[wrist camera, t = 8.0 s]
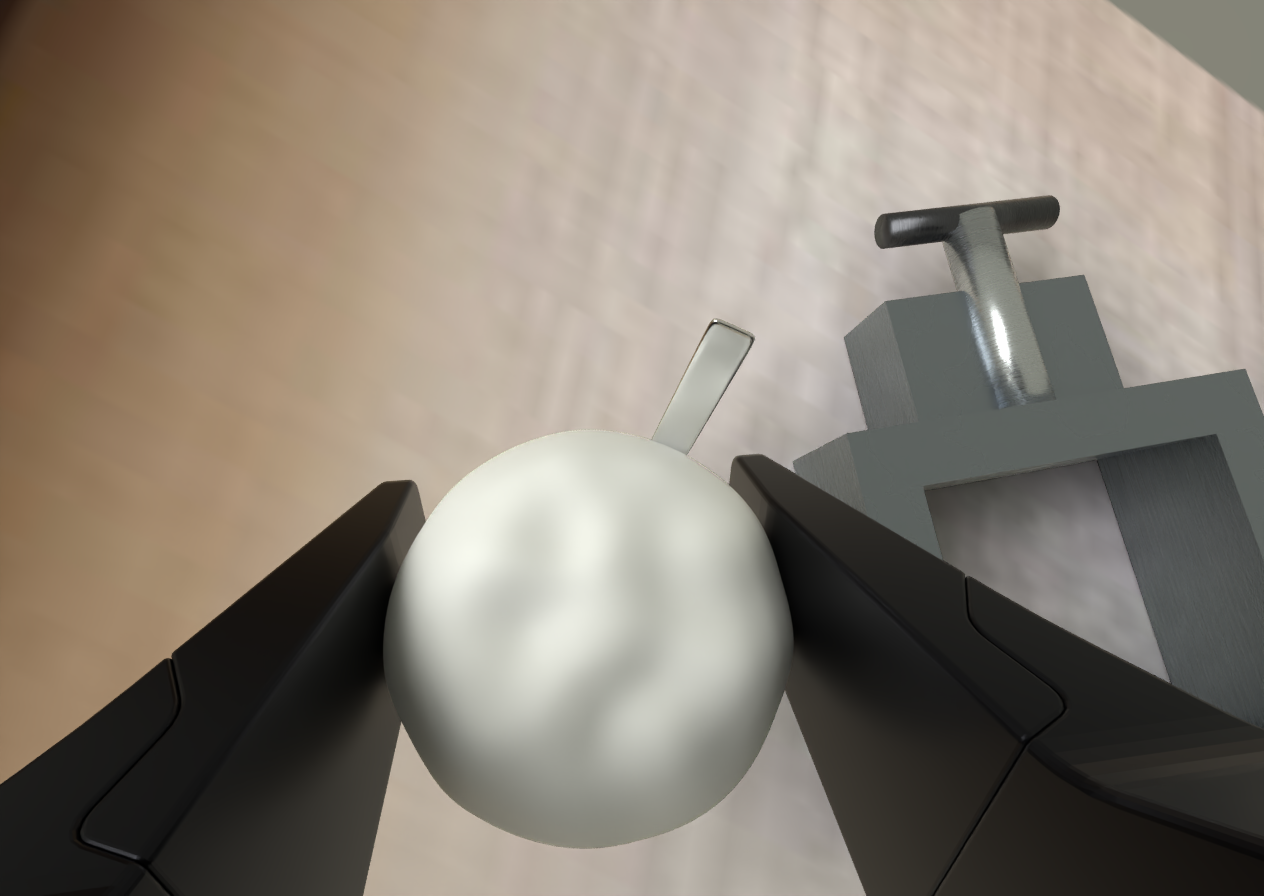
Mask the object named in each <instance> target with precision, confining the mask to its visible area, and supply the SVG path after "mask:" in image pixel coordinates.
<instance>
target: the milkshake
mask: <svg viewBox="0 0 1264 896" xmlns="http://www.w3.org/2000/svg"><path fill="white" fill-rule="evenodd" d="M754 340H755V337H754V335H753V334H752V333H750V332H748V331H746V330H744V329H741V328H739V327H737V326H735V325H732V324H730V323H728V322H725V321H723V320H721V319H717V318H716V319H713V320H712V321H711V322H710V324H709V325H708V327H707V329H706V331H705V333H704V335H703V337H702V339H701V341H700V343H699V345H698V347H697V349H696V351H695V353H694V355H693V357H692V359H691V361H690V363H689V365H688V367H687V369H686V371H685V373H684V375H683V377H682V379H681V381H680V383H679V385H678V387H677V389H676V391H675V393H674V395H673V397H672V399H671V401H670V403H669V405H668V407H667V409H666V411H665V413H664V415H663V417H662V419H661V421H660V423H659V425H658V427H657V429H656V431H655V433H654V435H653V437H652V439H651V440H650V439H646V438H643V437H639V436H635V435H631V434H626V433H621V432H615V431H606V430H573V431H566V432H560V433H555V434H551V435H547V436H543V437H540V438H537V439H534V440H531V441H528V442H525V443H523V444H520V445H518V446H516V447H513V448H511V449H509V450H507V451H505V452H503V453H501V454H499V455H497V456H495V457H494V458H492V459H490V460H489V461H487V462H485V463H484V464H482V465H481V466H479V467H478V468H476V469H475V470H473V471H472V472H471V473H469V474H468V475H467V476H465V477H464V478H463V479H462V480H461V481H459V482H458V483H457V484H456V485H455V486H454V487H453V488H452V489H451V490H450V491H449V492H448V493H447V494H446V495H445V497H444V498H443V499H442V500H441V501H440V503H439V504H438V505H437V507H436V508H435V509H434V511H433V512H432V514H431V515H430V516H429V518H428V519H427V521H426V522H425V524H424V525H423V527H422V529H421V530H420V532H419V533H418V535H417V537H416V538H415V540H414V542H413V544H412V545H411V547H410V549H409V551H408V553H407V555H406V557H405V558H404V561H403V563H402V565H401V567H400V569H399V572H398V574H397V577H396V580H395V582H394V585H393V588H392V592H391V595H390V599H389V603H388V608H387V613H386V619H385V627H384V638H383V663H384V672H385V678H386V683H387V687H388V690H389V693H390V696H391V699H392V702H393V704H394V707H395V709H396V711H397V713H398V716H399V718H400V720H401V721H402V723H403V725H404V727H405V729H406V731H407V733H408V735H409V737H410V739H411V741H412V743H413V745H414V747H415V748H416V750H417V752H418V754H419V756H420V757H421V759H422V761H423V762H424V764H425V766H426V767H427V769H428V770H429V772H430V774H431V775H432V777H433V778H434V780H435V781H436V782H437V784H438V785H439V786H440V787H441V788H442V790H443V791H444V792H445V793H446V794H447V795H448V796H449V797H450V798H451V799H452V800H454V801H455V802H456V803H457V804H458V805H460V806H461V807H462V808H464V809H465V810H467V811H468V812H470V813H472V814H473V815H475V816H477V817H478V818H480V819H482V820H484V821H486V822H487V823H489V824H491V825H493V826H495V827H497V828H499V829H502V830H504V831H506V832H509V833H511V834H514V835H516V836H519V837H522V838H525V839H528V840H531V841H535V842H539V843H543V844H547V845H552V846H558V847H565V848H580V849H589V848H603V847H611V846H617V845H622V844H627V843H631V842H635V841H639V840H643V839H647V838H650V837H654V836H657V835H660V834H663V833H666V832H669V831H671V830H674V829H676V828H679V827H681V826H683V825H685V824H687V823H689V822H691V821H693V820H695V819H696V818H698V817H700V816H701V815H703V814H705V813H706V812H708V811H709V810H710V809H712V808H713V807H714V806H716V805H717V804H718V803H719V802H720V801H721V800H723V799H724V798H725V797H726V796H727V795H728V794H729V793H730V792H731V791H732V790H733V789H734V787H735V786H736V785H737V784H738V783H739V782H740V780H741V779H742V778H743V776H744V775H745V774H746V772H747V771H748V769H749V768H750V767H751V765H752V763H753V762H754V760H755V758H756V757H757V755H758V753H759V751H760V749H761V747H762V745H763V743H764V741H765V739H766V737H767V734H768V732H769V730H770V727H771V725H772V722H773V720H774V717H775V714H776V712H777V709H778V706H779V704H780V701H781V698H782V696H783V693H784V690H785V687H786V684H787V681H788V677H789V673H790V669H791V664H792V659H793V649H794V636H793V626H792V619H791V614H790V609H789V604H788V600H787V596H786V593H785V589H784V586H783V582H782V579H781V575H780V572H779V568H778V565H777V562H776V558H775V555H774V552H773V549H772V547H771V544H770V542H769V539H768V537H767V535H766V533H765V531H764V529H763V527H762V525H761V523H760V522H759V520H758V518H757V517H756V515H755V514H754V512H753V511H752V509H751V508H750V507H749V506H748V504H747V503H746V502H745V501H744V500H743V498H742V497H741V496H740V495H739V494H738V493H737V492H736V491H735V490H734V489H733V488H732V487H731V486H729V485H728V484H727V483H726V482H725V481H724V480H722V479H721V478H720V477H719V476H717V475H716V474H715V473H713V472H712V471H711V470H709V469H708V468H706V467H705V466H703V465H702V464H700V463H699V462H697V461H695V460H694V459H692V458H690V457H689V456H687V454H688V453H689V451H690V449H691V448H692V446H693V444H694V443H695V441H696V439H697V438H698V436H699V434H700V432H701V431H702V429H703V427H704V426H705V424H706V422H707V421H708V419H709V417H710V416H711V414H712V412H713V411H714V409H715V407H716V406H717V404H718V402H719V401H720V399H721V397H722V396H723V394H724V392H725V391H726V389H727V387H728V386H729V384H730V382H731V381H732V379H733V377H734V376H735V374H736V372H737V371H738V369H739V367H740V365H741V364H742V362H743V360H744V359H745V357H746V355H747V354H748V352H749V350H750V348H751V347H752V345H753V343H754Z"/></svg>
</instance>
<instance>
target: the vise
mask: <svg viewBox="0 0 1264 896" xmlns="http://www.w3.org/2000/svg"><path fill="white" fill-rule="evenodd" d="M1059 212H1060V206H1059V202H1058V200H1057V199H1056V198H1055V197H1053V196H1050V195H1048V196H1039V197H1030V198H1021V199H1013V200H1004V201H995V202H986V203H977V204H968V205H959V206H950V207H941V208H932V209H923V210H914V211H906V212H897V213H888V214H882V215H881V216H880V217H879V218H878V219H877V222H876V225H875V231H874V235H875V241H876V243H877V245H878V246H879V247H880V248H881V249H885V248H893V247H902V246H910V245H918V244H927V243H935V242H942V243H943V247H944V250H945V253H946V256H947V260H948V263H949V266H950V270H951V273H952V276H953V279H954V283H955V286H956V289H957V292H951V293H944V294H936V295H928V296H921V297H913V298H906V299H898V300H891V301H885V302H884V303H883V304H882V305H880V306H879V307H878V308H877V309H876V310H875V311H874V312H872V313H871V314H870V315H869V316H868V317H867V318H866V319H864V320H863V321H862V322H861V323H860V324H859V325H858V326H856V327H855V328H854V329H853V330H852V331H851V332H850V333H848V334H847V335H846V336H845V337H844V340H845V343H846V347H847V351H848V355H849V359H850V363H851V366H852V370H853V374H854V378H855V382H856V385H857V389H858V393H859V397H860V401H861V405H862V408H863V412H864V416H865V420H866V424H867V428H868V430H866V431H859V432H853V433H847V434H845V435H843V436H841V437H839V438H837V439H835V440H833V441H831V442H829V443H827V444H825V445H824V446H822V447H820V448H818V449H816V450H814V451H812V452H810V453H808V454H806V455H804V456H802V457H800V458H798V459H796V460H794V461H793V464H794V468H795V473H796V474H797V475H798V476H800V477H802V478H804V479H805V480H807V481H809V482H810V483H812V484H814V485H815V486H817V487H819V488H821V489H822V490H824V491H826V492H827V493H829V494H831V495H832V496H834V497H836V498H838V499H839V500H841V501H843V502H844V503H846V504H848V505H849V506H851V507H853V508H855V509H856V510H858V511H860V512H861V513H863V514H865V515H866V516H868V517H870V518H872V519H873V520H875V521H877V522H878V523H880V524H882V525H883V526H885V527H887V528H889V529H890V530H892V531H894V532H895V533H897V534H899V535H900V536H902V537H904V538H906V539H907V540H909V541H911V542H912V543H914V544H916V545H917V546H919V547H921V548H923V549H924V550H926V551H928V552H929V553H931V554H933V555H934V556H936V557H938V558H940V559H941V560H943V558H942V555H941V551H940V547H939V544H938V540H937V536H936V533H935V529H934V525H933V522H932V518H931V514H930V511H929V507H928V503H927V500H926V496H925V492H924V491H927V490H933V489H938V488H944V487H949V486H955V485H960V484H966V483H972V482H977V481H983V480H988V479H994V478H999V477H1005V476H1011V475H1016V474H1022V473H1027V472H1033V471H1038V470H1044V469H1050V468H1055V467H1061V466H1066V465H1072V464H1077V463H1083V462H1089V461H1094V460H1098V463H1099V466H1100V469H1101V473H1102V476H1103V479H1104V482H1105V485H1106V488H1107V491H1108V494H1109V497H1110V500H1111V503H1112V506H1113V509H1114V512H1115V515H1116V518H1117V521H1118V524H1119V527H1120V530H1121V533H1122V536H1123V539H1124V542H1125V545H1126V548H1127V551H1128V554H1129V557H1130V560H1131V563H1132V566H1133V569H1134V572H1135V575H1136V578H1137V581H1138V584H1139V587H1140V590H1141V593H1142V596H1143V599H1144V602H1145V605H1146V608H1147V611H1148V614H1149V617H1150V620H1151V623H1152V626H1153V629H1154V632H1155V635H1156V638H1157V641H1158V644H1159V647H1160V650H1161V653H1162V656H1163V659H1164V662H1165V665H1166V668H1167V671H1168V674H1169V677H1170V680H1171V683H1172V685H1174V686H1176V687H1178V688H1180V689H1182V690H1184V691H1186V692H1188V693H1190V694H1192V695H1194V696H1196V697H1198V698H1200V699H1202V700H1204V701H1206V702H1208V703H1210V704H1212V705H1214V706H1216V707H1218V708H1220V709H1222V710H1224V711H1226V712H1228V713H1230V714H1232V715H1234V716H1236V717H1238V718H1240V719H1242V720H1245V721H1247V722H1249V723H1251V724H1253V725H1256V726H1258V727H1261V728H1263V729H1264V416H1263V413H1262V410H1261V408H1260V405H1259V403H1258V400H1257V398H1256V395H1255V393H1254V390H1253V387H1252V385H1251V382H1250V380H1249V377H1248V375H1247V372H1246V370H1245V369H1240V370H1234V371H1228V372H1222V373H1216V374H1210V375H1204V376H1197V377H1191V378H1185V379H1179V380H1173V381H1167V382H1161V383H1154V384H1148V385H1142V386H1136V387H1130V388H1123V385H1122V382H1121V379H1120V376H1119V373H1118V370H1117V367H1116V365H1115V362H1114V359H1113V356H1112V353H1111V350H1110V347H1109V344H1108V342H1107V339H1106V336H1105V333H1104V330H1103V327H1102V324H1101V322H1100V319H1099V316H1098V313H1097V310H1096V307H1095V304H1094V301H1093V299H1092V296H1091V293H1090V290H1089V287H1088V284H1087V281H1086V278H1085V276H1084V275H1079V276H1072V277H1064V278H1056V279H1049V280H1041V281H1034V282H1026V283H1018V280H1017V277H1016V274H1015V270H1014V267H1013V264H1012V261H1011V258H1010V255H1009V252H1008V249H1007V246H1006V243H1005V240H1004V237H1003V234H1010V233H1018V232H1026V231H1035V230H1043V229H1048V228H1050V227H1052V226H1053V225H1054V224H1055V222H1056V221H1057V219H1058V216H1059Z"/></svg>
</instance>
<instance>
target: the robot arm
mask: <svg viewBox="0 0 1264 896" xmlns="http://www.w3.org/2000/svg"><path fill="white" fill-rule="evenodd" d="M729 486H731V487H732V488H733V489H734V490H735V491H736V492H737V493H738V494H739V495H740V496H741V497H742V498H743V500H744V501H745V502H746V503H747V504H748V506H749V507H750V508H751V509H752V511H753V512H754V514H755V515H756V517H757V518H758V520H759V522H760V523H761V525H762V527H763V529H764V531H765V533H766V535H767V537H768V539H769V542H770V544H771V547H772V549H773V552H774V555H775V558H776V562H777V565H778V568H779V572H780V575H781V579H782V582H783V586H784V589H785V593H786V596H787V600H788V604H789V609H790V614H791V619H792V626H793V636H794V649H793V659H792V664H791V669H790V673H789V677H788V681H787V684H786V687H785V691H786V694H787V696H788V699H789V701H790V704H791V706H792V709H793V712H794V714H795V717H796V719H797V722H798V724H799V727H800V729H801V732H802V734H803V737H804V739H805V742H806V744H807V747H808V749H809V752H810V754H811V757H812V760H813V762H814V765H815V767H816V770H817V772H818V775H819V777H820V780H821V782H822V785H823V787H824V790H825V792H826V795H827V797H828V800H829V803H830V805H831V808H832V810H833V813H834V815H835V818H836V820H837V823H838V825H839V828H840V830H841V833H842V835H843V838H844V840H845V843H846V845H847V848H848V851H849V853H850V856H851V858H852V861H853V863H854V866H855V868H856V871H857V873H858V876H859V878H860V881H861V883H862V886H863V888H864V891H865V893H866V896H1264V729H1263V728H1261V727H1258V726H1256V725H1253V724H1251V723H1249V722H1247V721H1245V720H1242V719H1240V718H1238V717H1236V716H1234V715H1232V714H1230V713H1228V712H1226V711H1224V710H1222V709H1220V708H1218V707H1216V706H1214V705H1212V704H1210V703H1208V702H1206V701H1204V700H1202V699H1200V698H1198V697H1196V696H1194V695H1192V694H1190V693H1188V692H1186V691H1184V690H1182V689H1180V688H1178V687H1176V686H1174V685H1172V684H1170V683H1168V682H1166V681H1164V680H1162V679H1161V678H1159V677H1157V676H1155V675H1153V674H1151V673H1149V672H1147V671H1145V670H1143V669H1141V668H1139V667H1137V666H1135V665H1133V664H1131V663H1129V662H1127V661H1125V660H1123V659H1121V658H1119V657H1117V656H1115V655H1113V654H1111V653H1109V652H1107V651H1105V650H1103V649H1101V648H1099V647H1097V646H1095V645H1093V644H1092V643H1090V642H1088V641H1086V640H1084V639H1082V638H1080V637H1078V636H1076V635H1074V634H1072V633H1071V632H1069V631H1067V630H1065V629H1063V628H1061V627H1059V626H1057V625H1055V624H1053V623H1051V622H1049V621H1048V620H1046V619H1044V618H1042V617H1040V616H1038V615H1037V614H1035V613H1033V612H1031V611H1029V610H1028V609H1026V608H1024V607H1022V606H1021V605H1019V604H1017V603H1015V602H1014V601H1012V600H1010V599H1008V598H1006V597H1005V596H1003V595H1001V594H999V593H998V592H996V591H994V590H993V589H991V588H989V587H987V586H986V585H984V584H982V583H981V582H979V581H977V580H976V579H974V578H972V577H970V576H968V577H966V578H965V574H964V573H963V572H962V571H960V570H958V569H957V568H955V567H953V566H951V565H950V564H948V563H946V562H945V561H943V560H941V559H940V558H938V557H936V556H934V555H933V554H931V553H929V552H928V551H926V550H924V549H923V548H921V547H919V546H917V545H916V544H914V543H912V542H911V541H909V540H907V539H906V538H904V537H902V536H900V535H899V534H897V533H895V532H894V531H892V530H890V529H889V528H887V527H885V526H883V525H882V524H880V523H878V522H877V521H875V520H873V519H872V518H870V517H868V516H866V515H865V514H863V513H861V512H860V511H858V510H856V509H855V508H853V507H851V506H849V505H848V504H846V503H844V502H843V501H841V500H839V499H838V498H836V497H834V496H832V495H831V494H829V493H827V492H826V491H824V490H822V489H821V488H819V487H817V486H815V485H814V484H812V483H810V482H809V481H807V480H805V479H804V478H802V477H800V476H798V475H797V474H795V473H793V472H792V471H790V470H788V469H787V468H785V467H783V466H781V465H780V464H778V463H776V462H775V461H773V460H771V459H770V458H768V457H766V456H764V455H762V454H753V455H740V456H736V457H735V458H734V459H733V462H732V465H731V473H730V482H729ZM425 522H426V521H425V516H424V512H423V508H422V504H421V499H420V495H419V491H418V487H417V485H416V484H415V482H414V481H412V480H400V481H387V482H383V483H381V484H380V485H378V486H377V487H376V488H375V489H373V490H372V491H371V492H370V493H369V494H367V495H366V496H365V497H364V498H362V499H361V500H360V501H359V502H357V503H356V504H355V505H354V506H353V507H351V508H350V509H349V510H348V511H346V512H345V513H344V514H343V515H341V516H340V517H339V518H338V519H337V520H335V521H334V522H333V523H332V524H330V525H329V526H328V527H327V528H325V529H324V530H323V531H322V532H321V533H319V534H318V535H317V536H316V537H314V538H313V539H312V540H311V541H309V542H308V543H307V544H306V545H305V546H303V547H302V548H301V549H300V550H298V551H297V552H296V553H295V554H293V555H292V556H291V557H290V558H288V559H287V560H286V561H285V562H284V563H282V564H281V565H280V566H279V567H277V568H276V569H275V570H274V571H272V572H271V573H270V574H269V575H268V576H266V577H265V578H264V579H263V580H261V581H260V582H259V583H258V584H256V585H255V586H254V587H253V588H252V589H250V590H249V591H248V592H247V593H245V594H244V595H243V596H242V597H240V598H239V599H238V600H237V601H236V602H234V603H233V604H232V605H231V606H229V607H228V608H227V609H226V610H224V611H223V612H222V613H221V614H220V615H218V616H217V617H216V618H215V619H213V620H212V621H211V622H210V623H208V624H207V625H206V626H205V627H204V628H202V629H201V630H200V631H199V632H197V633H196V634H195V635H194V636H192V637H191V638H190V639H189V640H188V641H186V642H185V643H184V644H183V645H181V646H180V647H179V648H178V649H176V650H175V651H174V652H173V653H172V656H171V657H172V659H170V658H166V659H164V660H163V661H161V662H160V663H159V664H158V665H156V666H155V667H154V668H153V669H152V670H150V671H149V672H148V673H147V674H145V675H144V676H143V677H142V678H140V679H139V680H138V681H137V682H135V683H134V684H133V685H132V686H130V687H129V688H128V689H127V690H125V691H124V692H123V693H122V694H120V695H119V696H118V697H116V698H115V699H114V700H113V701H111V702H110V703H109V704H108V705H106V706H105V707H104V708H102V709H101V710H100V711H99V712H97V713H96V714H95V715H93V716H92V717H91V718H90V719H88V720H87V721H86V722H85V723H83V724H82V725H81V726H79V727H78V728H77V729H75V730H74V731H73V732H71V733H70V734H69V735H67V736H66V737H64V738H63V739H62V740H60V741H59V742H58V743H56V744H55V745H54V746H52V747H51V748H50V749H48V750H47V751H45V752H44V753H43V754H41V755H40V756H39V757H37V758H36V759H35V760H33V761H32V762H31V763H29V764H28V765H26V766H25V767H24V768H22V769H21V770H20V771H18V772H17V773H16V774H14V775H13V776H11V777H10V778H9V779H7V780H6V781H4V782H3V783H2V784H0V896H363V893H364V889H365V884H366V879H367V875H368V870H369V866H370V861H371V857H372V852H373V848H374V843H375V839H376V834H377V830H378V825H379V820H380V816H381V811H382V807H383V802H384V798H385V793H386V789H387V784H388V780H389V775H390V771H391V766H392V761H393V757H394V752H395V748H396V743H397V739H398V734H399V730H400V725H401V720H400V718H399V716H398V713H397V711H396V709H395V707H394V704H393V702H392V699H391V696H390V693H389V690H388V687H387V683H386V678H385V672H384V663H383V638H384V627H385V619H386V613H387V608H388V603H389V599H390V595H391V592H392V588H393V585H394V582H395V580H396V577H397V574H398V572H399V569H400V567H401V565H402V563H403V561H404V558H405V557H406V555H407V553H408V551H409V549H410V547H411V545H412V544H413V542H414V540H415V538H416V537H417V535H418V533H419V532H420V530H421V529H422V527H423V525H424V524H425Z"/></svg>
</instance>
